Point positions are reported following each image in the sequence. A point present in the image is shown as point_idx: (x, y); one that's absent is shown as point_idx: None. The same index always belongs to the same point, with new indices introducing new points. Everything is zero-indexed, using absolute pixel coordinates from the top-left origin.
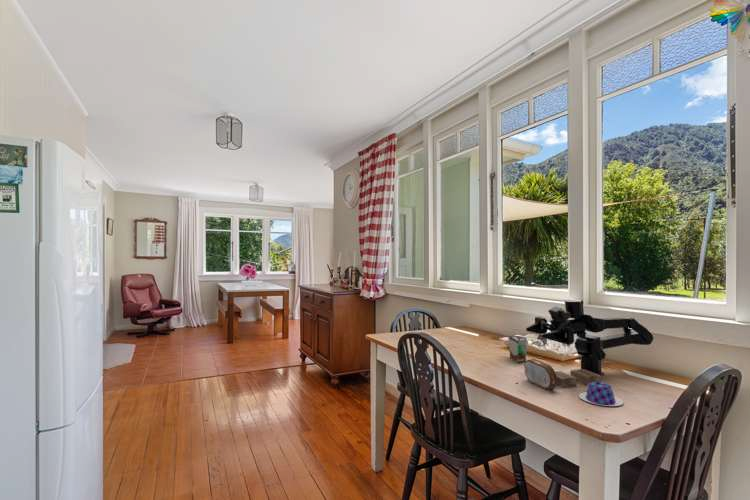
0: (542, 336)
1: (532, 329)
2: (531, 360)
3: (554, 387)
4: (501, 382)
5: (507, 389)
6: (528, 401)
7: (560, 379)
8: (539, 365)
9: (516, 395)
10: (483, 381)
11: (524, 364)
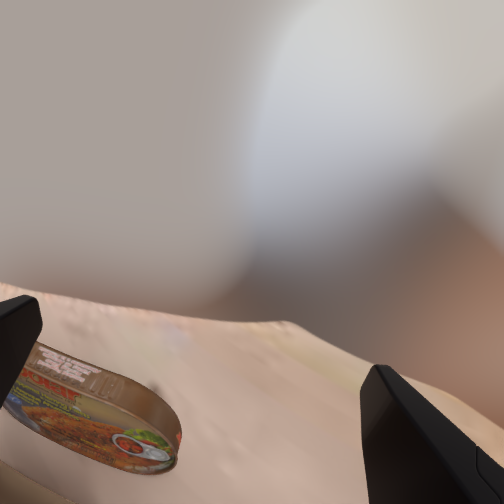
0: (33, 311)
1: (390, 467)
2: (112, 377)
3: (7, 404)
4: (190, 358)
5: (128, 324)
6: (40, 293)
7: (3, 462)
8: (43, 344)
9: (81, 305)
10: (226, 327)
11: (175, 416)
